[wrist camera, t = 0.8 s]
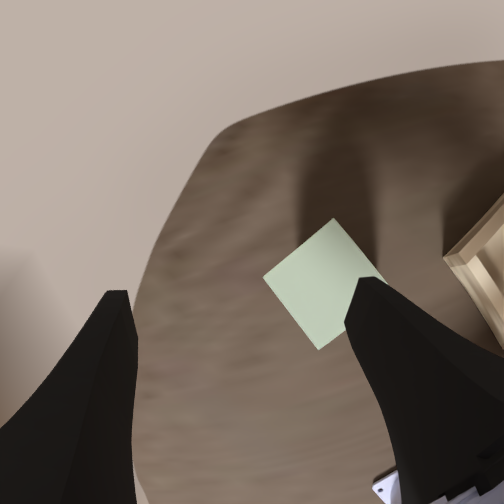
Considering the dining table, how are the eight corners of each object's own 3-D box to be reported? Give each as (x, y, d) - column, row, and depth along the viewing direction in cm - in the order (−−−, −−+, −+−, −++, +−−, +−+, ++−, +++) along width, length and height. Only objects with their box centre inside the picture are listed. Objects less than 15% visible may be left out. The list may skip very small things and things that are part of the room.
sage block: (376, 288, 23) (392, 291, 14) (331, 324, 24) (318, 350, 15) (340, 243, 24) (333, 217, 15) (296, 279, 25) (262, 277, 16)
